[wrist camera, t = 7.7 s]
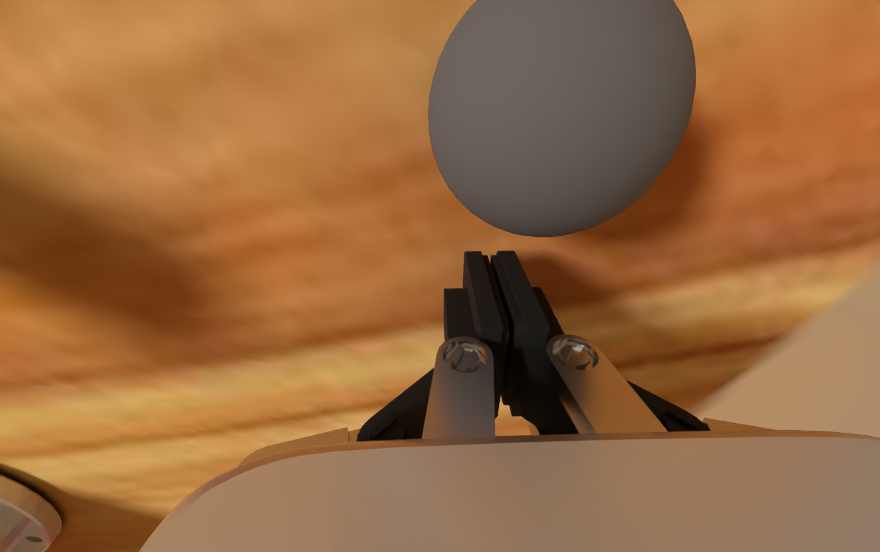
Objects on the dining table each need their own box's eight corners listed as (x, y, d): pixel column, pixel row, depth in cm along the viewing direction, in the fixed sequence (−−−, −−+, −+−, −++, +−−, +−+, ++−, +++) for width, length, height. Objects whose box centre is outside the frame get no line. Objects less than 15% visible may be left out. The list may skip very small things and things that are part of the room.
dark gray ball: (879, 33, 5) (662, -39, 8) (492, -52, 3) (435, -94, 7) (635, 285, 9) (561, 165, 12) (424, 283, 8) (410, 152, 11)
